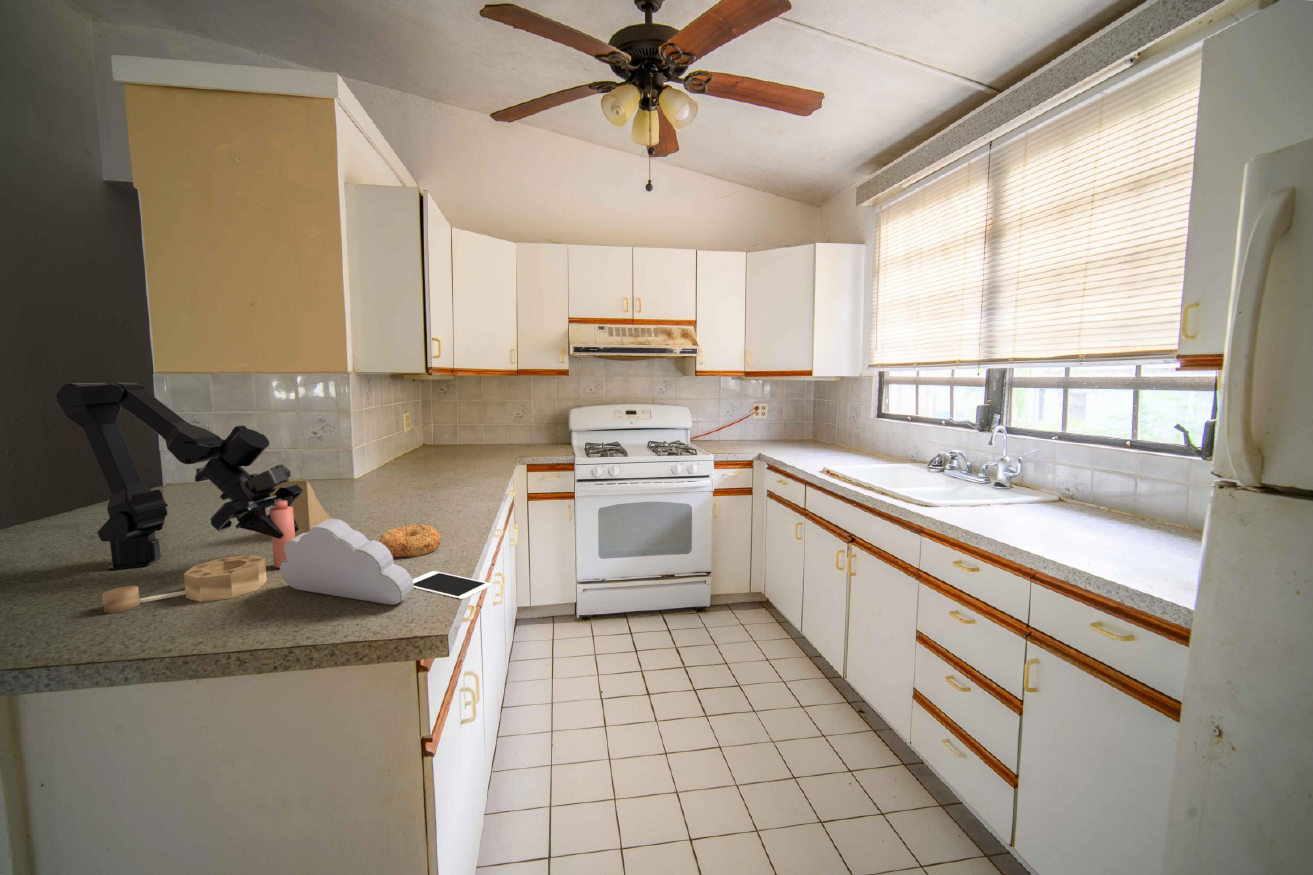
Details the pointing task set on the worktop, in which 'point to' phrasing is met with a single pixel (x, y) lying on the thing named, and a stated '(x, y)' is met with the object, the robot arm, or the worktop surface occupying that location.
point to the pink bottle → (282, 529)
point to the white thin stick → (162, 596)
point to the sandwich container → (305, 507)
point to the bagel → (411, 540)
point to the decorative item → (344, 565)
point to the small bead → (121, 599)
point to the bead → (225, 578)
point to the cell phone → (449, 585)
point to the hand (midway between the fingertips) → (289, 533)
